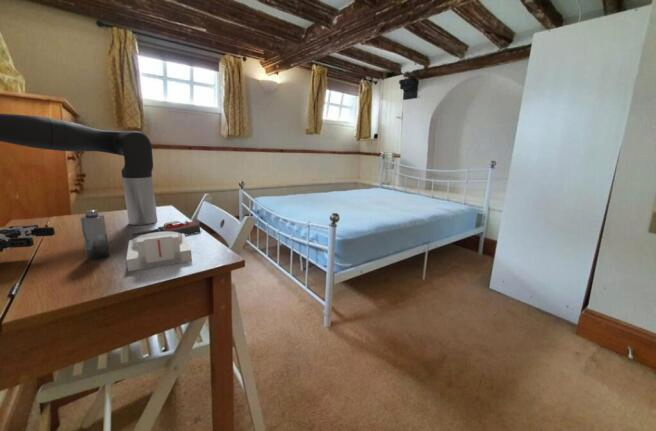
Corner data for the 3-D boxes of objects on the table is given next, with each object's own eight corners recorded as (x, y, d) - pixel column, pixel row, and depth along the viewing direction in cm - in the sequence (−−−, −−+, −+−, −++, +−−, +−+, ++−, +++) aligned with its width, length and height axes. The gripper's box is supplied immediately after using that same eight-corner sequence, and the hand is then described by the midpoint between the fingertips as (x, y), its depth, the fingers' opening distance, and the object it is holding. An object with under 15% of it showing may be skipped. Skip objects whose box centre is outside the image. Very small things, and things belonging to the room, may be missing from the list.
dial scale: (130, 250, 83) (127, 224, 81) (184, 242, 90) (182, 219, 89) (128, 272, 70) (123, 242, 68) (192, 261, 77) (189, 234, 75)
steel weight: (89, 255, 79) (80, 209, 76) (110, 252, 81) (103, 208, 78) (86, 261, 75) (77, 213, 72) (109, 258, 77) (101, 211, 74)
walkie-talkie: (194, 226, 108) (131, 238, 94) (193, 215, 107) (129, 225, 93) (204, 232, 102) (138, 245, 88) (203, 220, 101) (136, 231, 87)
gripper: (-76, 234, 61) (20, 229, 66) (-20, 217, 75) (57, 214, 79) (-66, 267, 63) (28, 260, 68) (-13, 245, 77) (62, 241, 81)
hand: (43, 236), depth 73 cm, fingers open, 8 cm apart
